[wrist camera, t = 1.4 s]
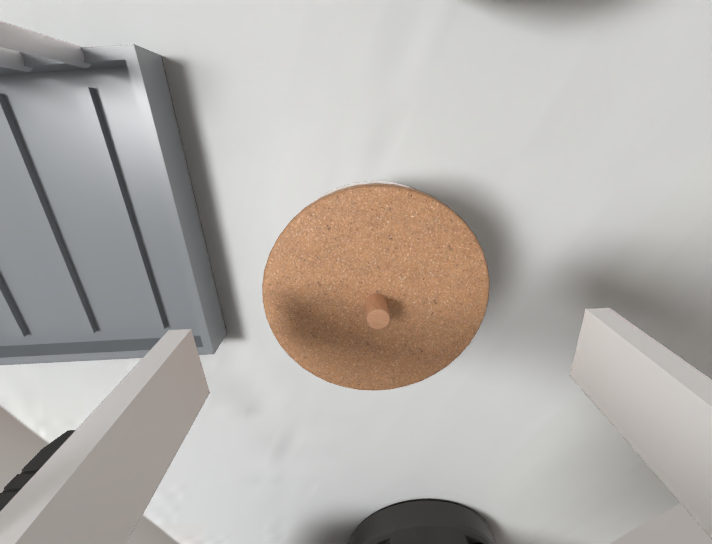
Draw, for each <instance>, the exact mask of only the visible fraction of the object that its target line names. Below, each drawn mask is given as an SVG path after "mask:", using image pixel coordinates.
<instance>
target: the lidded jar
mask: <svg viewBox="0 0 712 544" xmlns="http://www.w3.org/2000/svg"><path fill="white" fill-rule="evenodd" d="M262 288H263V304H264V309H265V313H266V318H267V320H268V322H269V325H270V327H271V330H272V332H273V334H274V335H275V337H276V339H277V340H278V342H279V344H280V345H281V346H282V348H283V349H284V350H285V351H286V352H287V353H288V355H289V356H290V357H291V358H292V359H293V360H295V361H296V362H297V363H298V364H299V365H300V366H301V367H302V368H304V369H306V370H307V371H309V372H310V373H312V374H314V375H315V376H317V377H319V378H321V379H323V380H325V381H327V382H330V383H333V384H336V385H340V386H343V387H348V388H353V389H358V390H387V389H394V388H399V387H403V386H407V385H410V384H413V383H417V382H420V381H422V380H424V379H426V378H428V377H430V376H432V375H434V374H436V373H437V372H439V371H440V370H442V369H443V368H445V367H446V366H448V365H449V364H450V363H451V362H452V361H453V360H455V359H456V358H457V357H458V356H459V355H460V354H461V353H462V352H463V350H464V349H465V348H466V347H467V346H468V345H469V344H470V342H471V340H472V339H473V337H474V336H475V334H476V332H477V331H478V329H479V327H480V324H481V322H482V320H483V317H484V315H485V311H486V307H487V303H488V298H489V274H488V266H487V263H486V259H485V256H484V253H483V250H482V248H481V246H480V244H479V242H478V240H477V238H476V236H475V235H474V233H473V232H472V231H471V229H470V228H469V227H468V225H467V224H466V223H465V221H464V220H463V219H461V218H460V217H459V216H458V215H457V214H456V213H455V212H454V211H453V210H452V209H450V208H449V207H448V206H446V205H445V204H443V203H442V202H440V201H439V200H437V199H435V198H434V197H432V196H430V195H428V194H425V193H423V192H421V191H418V190H416V189H413V188H411V187H408V186H406V185H402V184H398V183H393V182H387V181H364V182H356V183H352V184H348V185H344V186H341V187H338V188H336V189H334V190H331V191H329V192H327V193H325V194H324V195H322V196H321V197H319V198H317V199H316V200H314V201H313V202H312V203H311V204H310V205H308V206H307V207H305V208H304V209H303V210H302V211H301V212H300V213H299V214H298V215H296V216H295V217H294V218H293V219H292V220H291V221H290V223H289V224H288V225H287V226H286V228H285V229H284V230H283V232H282V233H281V234H280V236H279V237H278V239H277V241H276V243H275V244H274V246H273V248H272V250H271V252H270V254H269V257H268V260H267V264H266V267H265V270H264V278H263V285H262Z"/></svg>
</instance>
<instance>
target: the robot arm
mask: <svg viewBox="0 0 712 544" xmlns="http://www.w3.org/2000/svg"><path fill="white" fill-rule="evenodd" d="M570 377H571V378H572V379H573V380H574V381H575V383H576V384H577V385H578V386H579V387H580V388H581V389H582V391H583V392H584V393H585V394H586V395H587V396H588V397H589V399H590V400H591V401H592V402H593V403H594V404H595V405H596V407H597V408H598V409H599V410H600V411H601V412H602V414H603V415H604V416H605V417H606V418H607V419H608V420H609V422H610V423H611V424H612V425H613V426H614V427H615V428H616V430H617V431H618V432H619V433H620V434H621V435H622V436H623V438H624V439H625V440H626V441H627V442H628V443H629V445H630V446H631V447H632V448H633V449H634V450H635V451H636V453H637V454H638V455H639V456H640V457H641V458H642V459H643V461H644V462H645V463H646V464H647V465H648V466H649V467H650V469H651V470H652V471H653V472H654V473H655V474H656V476H657V477H658V478H659V479H660V480H661V481H662V482H663V484H664V485H665V486H666V487H667V488H668V489H669V490H670V492H671V493H672V494H673V495H674V496H675V497H676V498H677V500H678V501H679V502H680V503H681V504H682V505H683V507H684V508H685V509H686V510H687V511H688V512H689V513H690V514H691V516H692V517H693V518H694V519H695V520H696V521H697V523H698V524H699V525H700V526H701V527H702V528H703V529H704V531H705V532H706V533H707V534H708V535H709V536H710V538H711V539H712V379H710V378H709V377H707V376H706V375H704V374H703V373H702V372H700V371H699V370H697V369H696V368H695V367H693V366H692V365H690V364H689V363H687V362H686V361H685V360H683V359H682V358H680V357H679V356H677V355H676V354H675V353H673V352H672V351H670V350H669V349H667V348H666V347H665V346H663V345H662V344H660V343H659V342H657V341H656V340H655V339H653V338H652V337H650V336H649V335H647V334H646V333H645V332H643V331H642V330H640V329H639V328H637V327H636V326H635V325H633V324H632V323H630V322H629V321H628V320H626V319H625V318H623V317H622V316H620V315H619V314H618V313H616V312H615V311H613V310H612V309H610V308H594V309H586V310H585V314H584V318H583V322H582V326H581V331H580V335H579V339H578V343H577V347H576V352H575V356H574V360H573V364H572V368H571V373H570ZM209 393H210V392H209V389H208V385H207V382H206V378H205V375H204V372H203V368H202V365H201V361H200V358H199V354H198V351H197V347H196V344H195V341H194V337H193V334H192V330H191V329H181V330H168V331H167V332H166V334H165V335H164V336H163V337H162V338H161V339H160V340H159V341H158V342H157V343H156V344H155V345H154V346H153V348H152V349H151V350H150V351H149V352H148V353H147V354H146V355H145V356H144V357H143V358H142V359H141V360H140V362H139V363H138V364H137V365H136V366H135V367H134V368H133V369H132V370H131V371H130V372H129V373H128V374H127V376H126V377H125V378H124V379H123V380H122V381H121V382H120V383H119V384H118V385H117V386H116V387H115V389H114V390H113V391H112V392H111V393H110V394H109V395H108V396H107V397H106V398H105V399H104V400H103V401H102V403H101V404H100V405H99V406H98V407H97V408H96V409H95V410H94V411H93V412H92V413H91V414H90V415H89V417H88V418H87V419H86V420H85V421H84V422H83V423H82V424H81V425H80V426H79V427H78V428H77V429H76V430H70V431H67V432H65V433H64V434H62V435H61V436H60V437H58V438H57V439H55V440H54V441H53V442H51V443H50V444H48V445H47V446H46V447H44V448H43V449H42V450H41V451H40V452H39V453H38V454H37V455H36V456H35V457H34V458H33V459H32V460H31V461H30V462H29V463H28V464H27V465H26V466H25V467H24V468H23V469H22V472H21V474H17V475H16V477H14V478H13V479H12V480H11V481H10V482H9V483H8V484H7V486H6V487H5V488H4V491H3V492H2V493H0V544H127V542H128V540H129V538H130V536H131V534H132V533H133V531H134V529H135V527H136V525H137V524H138V522H139V520H140V518H141V516H142V515H143V513H144V511H145V509H146V507H147V506H148V504H149V502H150V500H151V498H152V497H153V495H154V493H155V491H156V489H157V487H158V486H159V484H160V482H161V480H162V478H163V477H164V475H165V473H166V471H167V469H168V467H169V466H170V464H171V462H172V460H173V458H174V457H175V455H176V453H177V451H178V449H179V448H180V446H181V444H182V442H183V440H184V438H185V437H186V435H187V433H188V431H189V429H190V428H191V426H192V424H193V422H194V420H195V419H196V417H197V415H198V413H199V411H200V409H201V408H202V406H203V404H204V402H205V400H206V399H207V397H208V395H209ZM349 544H496V541H495V538H494V535H493V533H492V530H491V528H490V526H489V525H488V523H487V522H486V521H485V520H484V519H483V518H482V517H481V516H479V515H478V514H477V513H475V512H473V511H472V510H470V509H468V508H465V507H463V506H460V505H457V504H453V503H448V502H442V501H412V502H406V503H401V504H397V505H394V506H391V507H388V508H385V509H383V510H381V511H378V512H377V513H375V514H373V515H371V516H370V517H368V518H367V519H366V520H365V521H363V522H362V523H361V524H360V525H359V526H358V527H357V529H356V530H355V531H354V533H353V535H352V537H351V539H350V542H349Z"/></svg>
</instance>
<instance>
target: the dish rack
mask: <svg viewBox="0 0 712 544" xmlns="http://www.w3.org/2000/svg"><path fill="white" fill-rule="evenodd" d="M181 329H191V330H192V334H193V337H194V341H195V344H196V347H197V351H198V354H199V355H205V354H214V353H215V352H216V350H217V349H218V347H219V345H220V344H221V342H222V341H223V339H224V338H225V336H226V334H227V333H226V329H225V325H224V320H223V316H222V312H221V308H220V303H219V299H218V295H217V291H216V286H215V282H214V278H213V274H212V269H211V265H210V261H209V257H208V252H207V248H206V244H205V240H204V235H203V231H202V227H201V223H200V218H199V214H198V210H197V206H196V201H195V197H194V193H193V189H192V184H191V180H190V176H189V172H188V168H187V163H186V159H185V155H184V151H183V146H182V142H181V138H180V134H179V129H178V125H177V121H176V117H175V112H174V108H173V104H172V100H171V95H170V91H169V87H168V83H167V78H166V74H165V70H164V66H163V61H162V57H161V55H159V54H156V53H154V52H151V51H149V50H147V49H144V48H142V47H139V46H137V45H134V44H129V45H114V46H99V47H84V48H82V47H79V46H76V45H73V44H70V43H67V42H64V41H61V40H58V39H55V38H51V37H48V36H45V35H42V34H39V33H36V32H33V31H30V30H27V29H24V28H21V27H17V26H14V25H11V24H8V23H5V22H2V21H0V365H13V364H33V363H52V362H71V361H90V360H109V359H129V358H143V357H144V356H145V355H146V354H147V353H148V352H149V351H150V350H151V349H152V348H153V346H154V345H155V344H156V343H157V342H158V341H159V340H160V339H161V338H162V337H163V336H164V335H165V334H166V332H167V331H168V330H181Z"/></svg>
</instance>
